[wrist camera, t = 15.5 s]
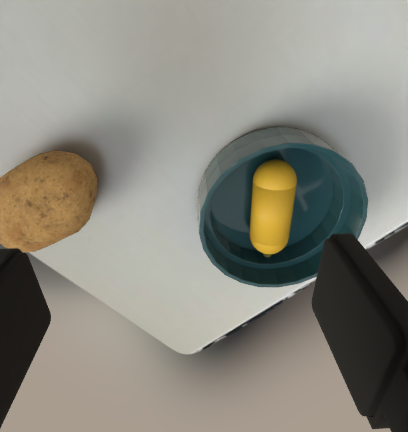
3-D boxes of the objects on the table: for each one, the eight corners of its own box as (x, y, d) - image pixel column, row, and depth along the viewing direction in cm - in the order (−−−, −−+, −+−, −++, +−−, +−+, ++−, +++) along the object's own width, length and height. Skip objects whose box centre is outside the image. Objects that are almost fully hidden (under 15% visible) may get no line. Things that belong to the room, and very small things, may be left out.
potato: (129, 178, 39) (116, 210, 32) (56, 239, 43) (31, 278, 36) (65, 116, 34) (34, 137, 28) (-9, 189, 39) (-51, 224, 32)
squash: (252, 153, 37) (256, 169, 33) (294, 153, 37) (304, 169, 33) (247, 243, 44) (249, 266, 40) (282, 243, 44) (289, 266, 40)
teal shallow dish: (228, 103, 35) (236, 117, 29) (371, 153, 38) (403, 174, 33) (180, 238, 43) (178, 268, 38) (300, 268, 47) (315, 299, 42)
